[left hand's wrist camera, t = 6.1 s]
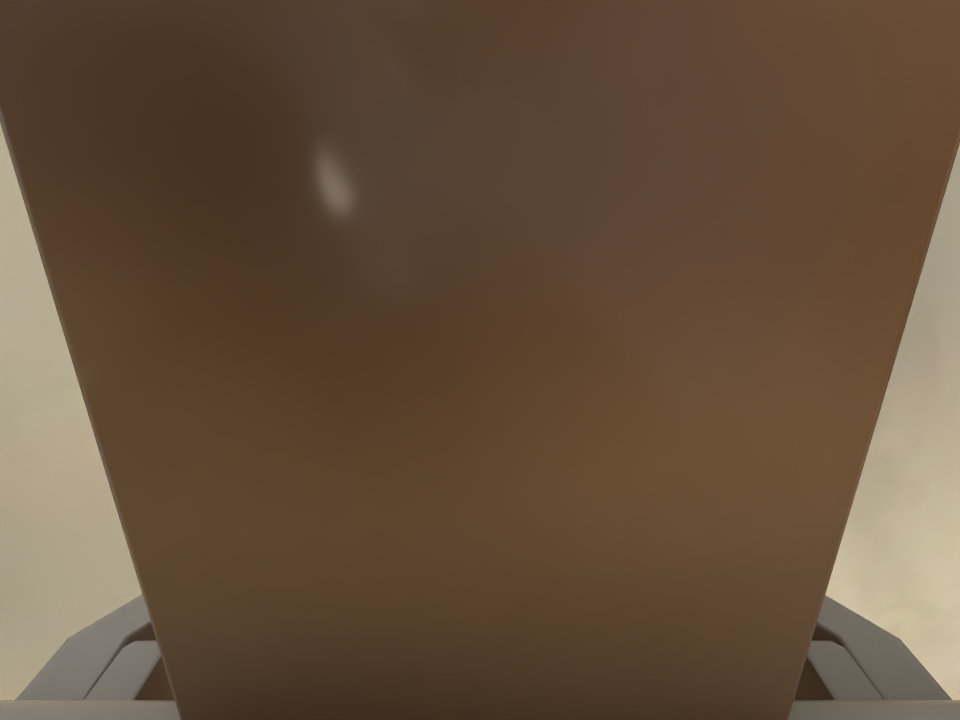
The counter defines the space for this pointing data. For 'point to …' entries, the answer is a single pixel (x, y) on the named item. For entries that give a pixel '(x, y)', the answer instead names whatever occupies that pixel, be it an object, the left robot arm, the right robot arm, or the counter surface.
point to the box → (482, 331)
